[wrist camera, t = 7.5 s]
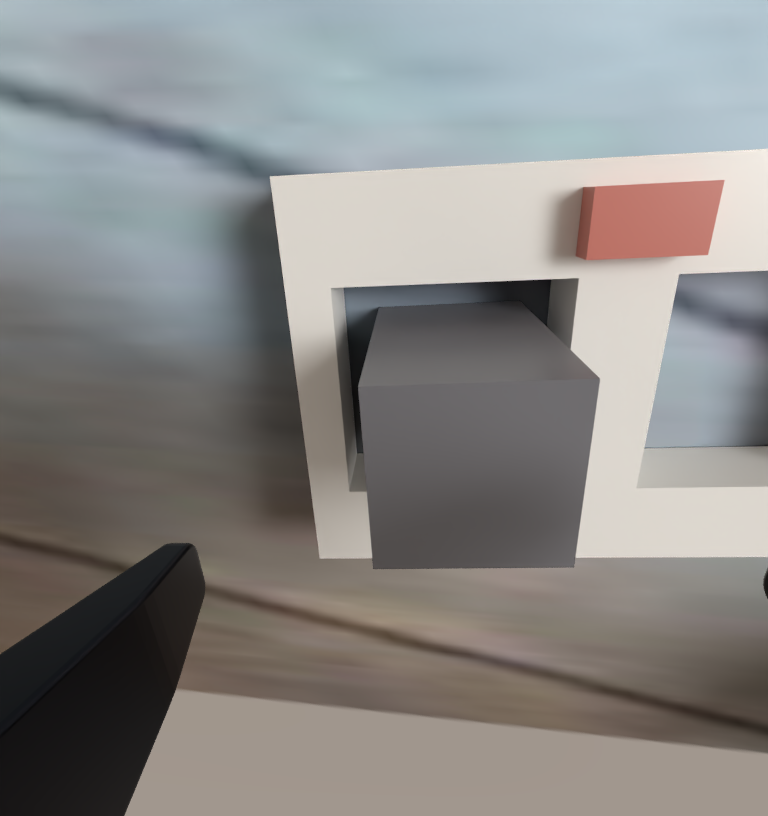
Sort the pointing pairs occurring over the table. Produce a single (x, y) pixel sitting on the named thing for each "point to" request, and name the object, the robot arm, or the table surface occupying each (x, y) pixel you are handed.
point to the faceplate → (567, 318)
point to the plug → (474, 438)
